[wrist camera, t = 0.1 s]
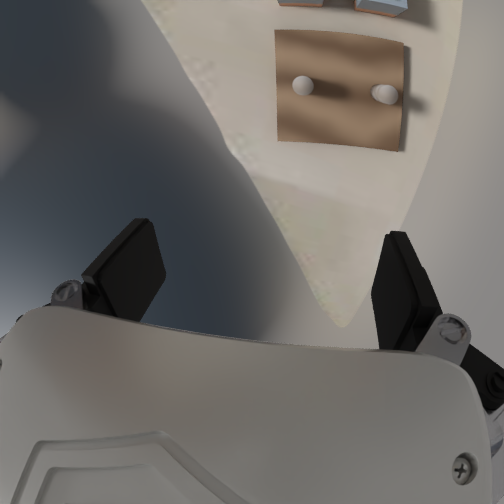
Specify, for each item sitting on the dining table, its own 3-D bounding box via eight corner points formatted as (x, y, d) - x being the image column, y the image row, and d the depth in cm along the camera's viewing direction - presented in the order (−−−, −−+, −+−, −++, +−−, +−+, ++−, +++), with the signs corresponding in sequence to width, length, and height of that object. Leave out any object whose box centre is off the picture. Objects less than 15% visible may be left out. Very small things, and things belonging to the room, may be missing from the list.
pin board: (275, 31, 28) (269, 22, 23) (400, 44, 26) (416, 38, 20) (278, 138, 38) (273, 149, 32) (395, 149, 35) (409, 162, 29)
